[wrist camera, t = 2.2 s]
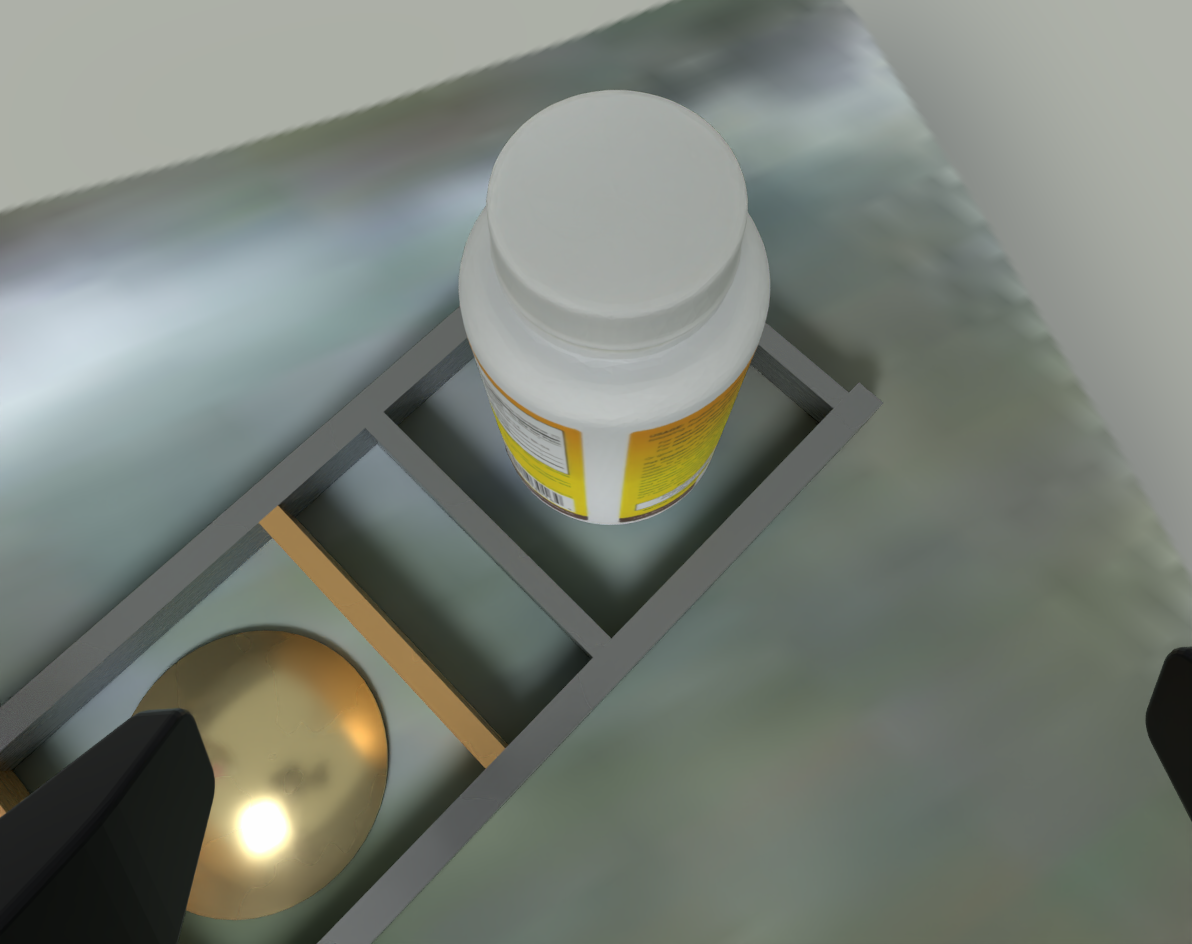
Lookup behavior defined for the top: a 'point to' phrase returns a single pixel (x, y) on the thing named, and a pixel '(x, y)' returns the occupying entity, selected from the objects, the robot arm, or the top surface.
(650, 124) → the supplement bottle
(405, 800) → the top surface
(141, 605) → the rack
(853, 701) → the top surface
